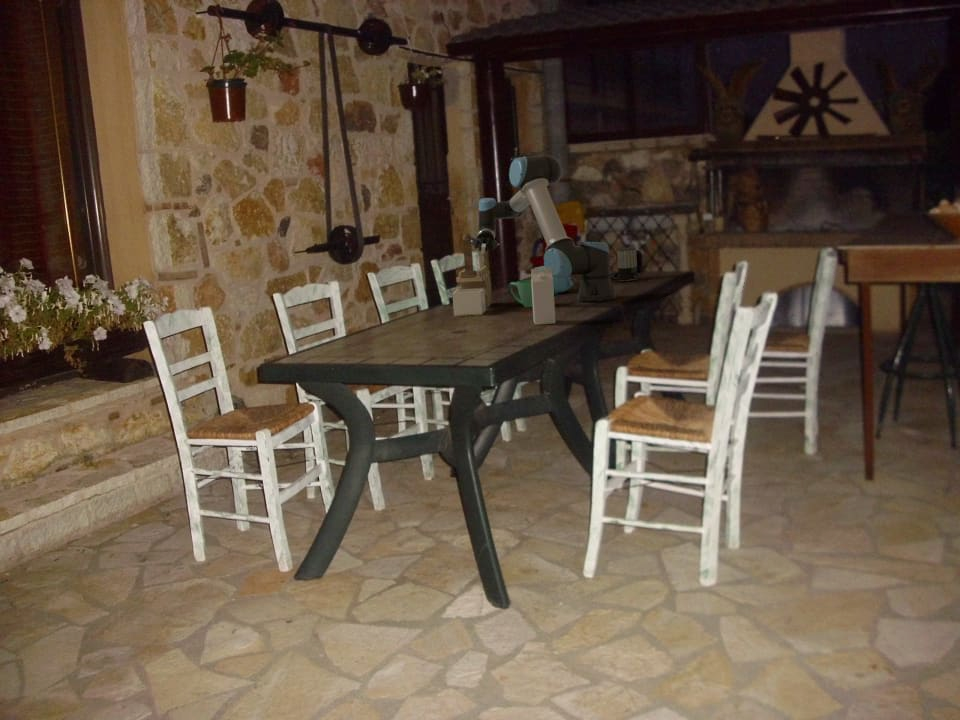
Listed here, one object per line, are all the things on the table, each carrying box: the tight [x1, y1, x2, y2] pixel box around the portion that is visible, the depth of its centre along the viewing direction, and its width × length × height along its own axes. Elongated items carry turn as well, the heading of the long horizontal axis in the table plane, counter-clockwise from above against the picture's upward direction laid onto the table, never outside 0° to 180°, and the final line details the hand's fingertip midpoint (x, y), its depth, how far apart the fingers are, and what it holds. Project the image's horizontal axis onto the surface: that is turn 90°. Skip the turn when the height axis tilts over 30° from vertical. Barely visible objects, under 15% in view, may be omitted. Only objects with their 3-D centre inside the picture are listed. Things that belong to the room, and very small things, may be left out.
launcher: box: [455, 265, 493, 309], centre depth 382 cm, size 22×10×16 cm, turn 172°
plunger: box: [462, 233, 477, 278], centre depth 370 cm, size 4×5×17 cm
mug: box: [507, 279, 533, 308], centre depth 378 cm, size 15×10×10 cm
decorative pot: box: [533, 265, 574, 295], centre depth 412 cm, size 16×16×14 cm
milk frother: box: [610, 246, 643, 280], centre depth 439 cm, size 14×16×15 cm
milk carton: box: [530, 268, 556, 326], centre depth 332 cm, size 7×7×19 cm
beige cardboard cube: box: [451, 288, 487, 317], centre depth 369 cm, size 11×11×9 cm
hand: (482, 250), depth 392 cm, fingers closed
